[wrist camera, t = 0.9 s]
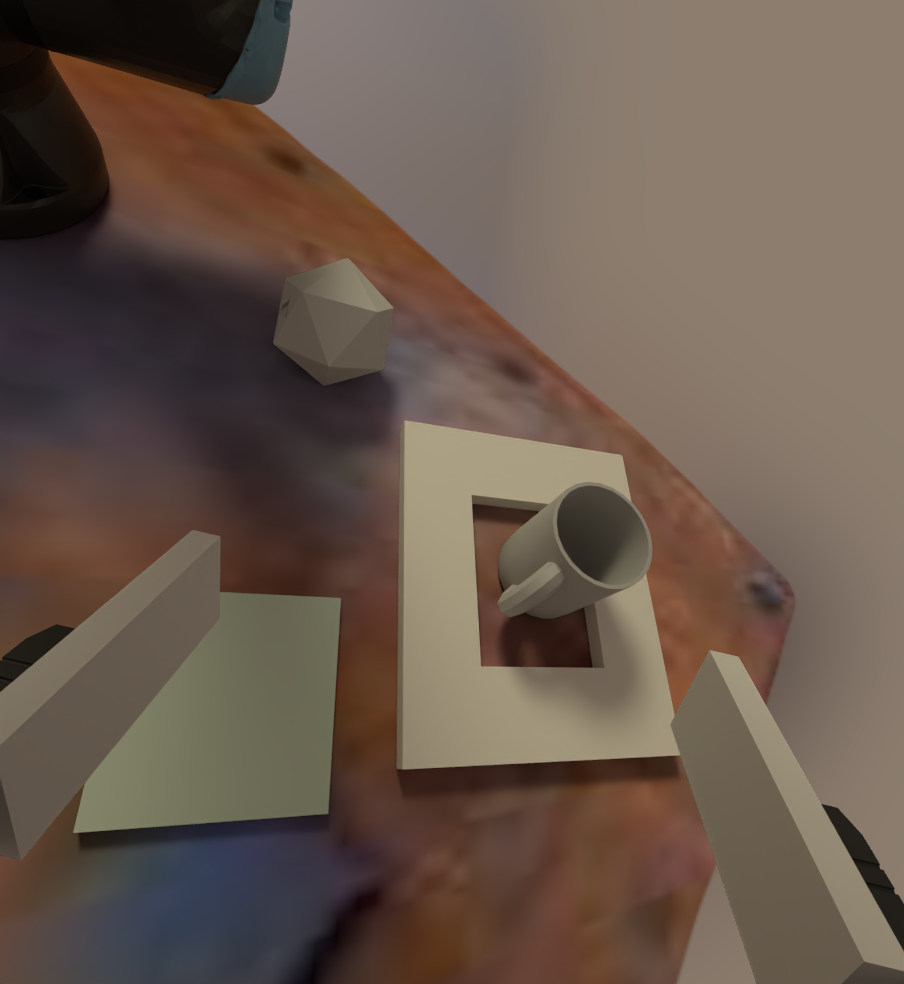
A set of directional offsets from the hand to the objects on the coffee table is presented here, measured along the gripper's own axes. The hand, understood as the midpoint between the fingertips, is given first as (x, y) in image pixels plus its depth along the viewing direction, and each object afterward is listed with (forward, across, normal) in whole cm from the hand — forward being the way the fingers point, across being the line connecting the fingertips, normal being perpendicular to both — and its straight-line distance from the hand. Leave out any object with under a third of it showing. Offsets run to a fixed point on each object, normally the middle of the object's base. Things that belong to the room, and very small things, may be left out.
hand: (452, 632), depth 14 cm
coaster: (+10, -11, -17) cm, 22 cm away
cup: (+23, +6, -13) cm, 27 cm away
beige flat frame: (+23, +6, -13) cm, 27 cm away
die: (+31, -14, -1) cm, 34 cm away
